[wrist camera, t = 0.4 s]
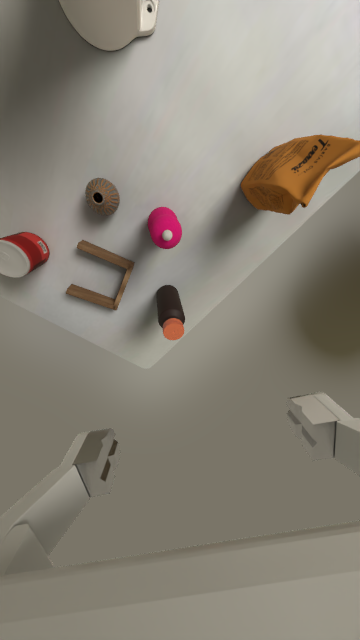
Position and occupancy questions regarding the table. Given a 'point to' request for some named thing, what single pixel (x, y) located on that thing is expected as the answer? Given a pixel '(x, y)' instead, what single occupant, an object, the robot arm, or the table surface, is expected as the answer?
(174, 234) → the pepper mill
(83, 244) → the bay
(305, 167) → the coffee package
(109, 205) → the vase
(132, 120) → the table surface
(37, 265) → the canned food
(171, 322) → the bottle
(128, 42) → the robot arm
